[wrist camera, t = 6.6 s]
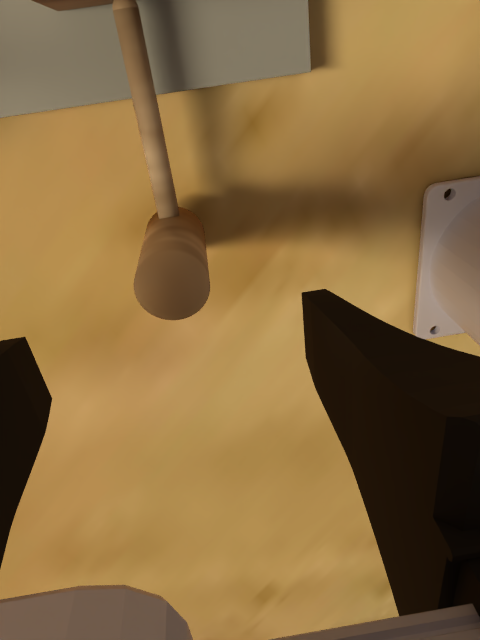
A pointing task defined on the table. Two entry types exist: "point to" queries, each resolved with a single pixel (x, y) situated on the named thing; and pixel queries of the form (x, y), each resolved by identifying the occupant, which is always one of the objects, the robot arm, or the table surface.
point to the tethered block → (157, 187)
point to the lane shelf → (161, 42)
